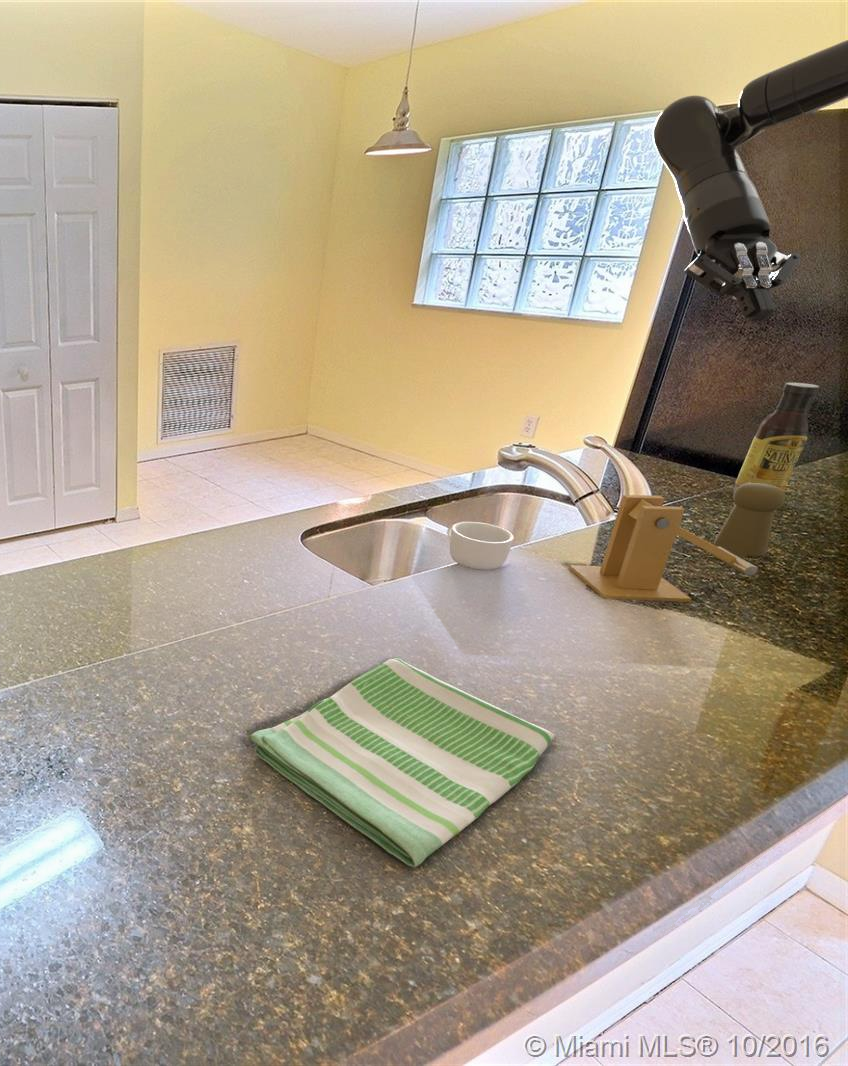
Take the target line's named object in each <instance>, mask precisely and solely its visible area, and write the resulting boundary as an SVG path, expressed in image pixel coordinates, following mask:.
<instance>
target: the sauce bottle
mask: <svg viewBox="0 0 848 1066" xmlns="http://www.w3.org/2000/svg"><path fill="white" fill-rule="evenodd" d="M819 390H820V386H819V385H816V384H811V383H805V382H786V383H785V384H784V386H783V388H782V394H781V398H780V399H779V402H778V404H777V405H776V409H775V410H774V411H773V412H772V413H770V414H768V415H767V416H766V417H765V418H764V419H763V420H762V421H761V422H760V424H759V426H758V429H757V431H756V434H755V435H754V437H753V439H752V442H751V444H750V446H749V449H748V451H747V454H746V456H745V458H744V461H743V463H742V466H741V468H740V470H739V472H738V476H737V478H736V479H735V480H736V481H735V482H734V483H735V486H734V488H733V490H732V492H733V494H734V492H735V490H736V489H737V488H738V487H739V486H741V485H742V484H746V483H762V484H768V485H772V486H776V487H778V488H780V489H782V490H783V491H784V492H785V489H786V488H787V485H788V483H789V481H790V478H791V476H792V474H793V472H794V470H795V467H796V464H797V462H798V460H799V458H800V455H801V453H802V451H803V449H804V447H805V444H806V442H807V440H808V437H809V435H808V433H809V432H808V431H809V430H808V429H809V428H808V427H809V426H808V425H809V424H808V423H809V421H808V417H809V416H808V414H809V411H810V408H811V405H812V402H813V400H814V398H815V397H816V396H817V395H818V392H819Z"/></svg>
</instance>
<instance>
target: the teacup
mask: <svg viewBox="0 0 848 1066" xmlns="http://www.w3.org/2000/svg"><path fill="white" fill-rule="evenodd" d="M446 534H447V537H448V539H449V540H450V541H449V554H450V557H451V558H452V560H453V561H454V562H455V563H457V564H459V565H460V566H463V567H466V568H470V569H475V570H480V571H481V570H483V571H491V570H496V569H499V568H500V567H502V566H503V565H504V564H505V562H506V561H507V559H508V556H509V554H510V551H511V549H512V546H513V543H514V535H513V534H512V532H510V531H509V530H507V529H506V528H503V527H501V526H498V525H494V524H491V523H485V522H477V521H461V522H457V523H455V524H451V525H450V526H449V527H447V531H446Z"/></svg>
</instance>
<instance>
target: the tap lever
mask: <svg viewBox="0 0 848 1066" xmlns="http://www.w3.org/2000/svg"><path fill="white" fill-rule="evenodd" d="M641 506H653V505H651V504H650V503H648V502H646V501H644V500H641V501H640V502H639V503H638V504H637V505H636V507H635V508H634V509H633V510H632V511H631V512H630V513H629V514H628V515H630V516H631V517H633V518H634V519H636V520H637V518H638V515H639V511H640V508H641ZM676 536H677V537H680V538H681V539H683V540H686V541H687V542H689V543H691V544H693V545H694V546H696V547H698V548H700V549H702V550H704V551H706V552H708V553H709V554H711V555H712V556H714V557H715V558H717V559H718V560H720V561H722V562H723V563H725V564H727V565H728V566H730V567H731V568H733V569H735V570H736V571H738V572H740V573H741V574H743V575H744V576H747V577H752V576H754V575H756V574H757V573H758V570H759V569H758V567H757V566H756V565H754V564H752V563H750V562H749V561H747V560H746V559H745V558H740V557H739V556H737V555H735V554H733V553H732V552H730V551H728V550H727V549H725V548H723V547H716V546H715V545H714V543H711V542H709V541H707V540H705V539H704V538H702V537H700V536H697V534H694V533H693V532H690V531H688V530H687V529H685V528H683V527H681V526H679V528H678V531H677V534H676Z"/></svg>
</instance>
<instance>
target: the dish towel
mask: <svg viewBox="0 0 848 1066" xmlns="http://www.w3.org/2000/svg"><path fill="white" fill-rule="evenodd" d="M554 738H555V734H554V733H553V732H551V731H549V730H547V729H546V728H543V727H541V726H539V725H536V724H535V723H532V722H529V721H527V720H525V719H524V718H523V719H522V718H520V717H519V716H516V715H514V714H512V713H510V712H508V711H505V710H504V709H502V708H500V707H497V706H496V705H493V704H491V703H489V702H487V701H485V700H483V699H481V698H479V697H476V696H475V695H472V694H470V693H469V692H466V691H464V690H462V689H461V688H458V687H456V686H454V685H452V684H449V683H447V682H446V681H443V680H441V679H439V678H437V677H436V676H433V675H431V674H429V672H426V671H424V670H421V669H419V668H417V667H415V666H413V665H411V664H410V663H407V662H405V661H404V660H402V659H400V658H398V657H394V658H388V659H386V661H384V662H382V663H380V664H379V665H376V666H375V667H373V668H371V669H369V670H368V671H366V672H364V673H363V674H361V675H360V676H358V677H357V678H355V679H353V680H352V681H350V682H349V683H347V684H346V685H345V686H343V687H341V689H339V690H338V691H336V692H334V694H332V695H331V696H330V697H327V698H324V699H321V700H319V701H318V702H316V703H315V704H313V705H311V707H309V708H308V709H307V710H306V711H304V712H303V713H301V714H300V715H298V716H296V717H293V718H290V719H289V720H286V721H284V722H282V723H280V724H277V725H275V726H273V727H268V728H264V729H260V730H256V731H254V732H253V733H252V734H249V739H250V740H251V741H252V742H253V743H255V744H256V745H258V746H255V747H254V753H255V754H256V755H257V757H258V758H259V759H261V760H262V761H263V762H265V763H267V764H268V765H269V766H270V767H271V768H273V769H274V770H275V771H276V772H278V773H279V774H280V775H281V776H283V777H284V778H286V779H288V781H290V782H291V783H293V784H294V785H296V786H297V787H298V788H300V789H301V790H302V791H304V792H305V793H306V794H307V795H309V796H310V797H312V798H313V799H315V800H316V801H318V803H320V804H322V805H323V806H324V807H326V808H327V809H328V810H330V811H331V812H332V813H333V814H335V815H336V816H337V817H339V818H340V819H341V820H343V821H345V822H346V823H347V824H348V825H350V826H351V827H353V828H354V829H355V830H357V831H358V832H360V833H361V834H363V835H364V836H365V837H367V838H369V839H370V840H372V841H373V842H374V843H375V844H377V845H378V846H379V847H381V848H382V849H383V850H384V851H386V852H387V853H388V854H390V855H393V857H395V858H397V859H398V860H400V861H401V862H402V863H404V864H405V865H407V866H409V867H412V868H417V867H418V866H419V865H421V864H423V862H424V861H425V860H426V859H427V858H428V857H429V856H430V855H432V854H434V852H435V851H437V850H438V849H440V848H441V847H442V846H443V845H445V844H446V843H448V842H449V840H451V839H452V838H454V837H455V836H456V835H458V834H460V833H461V832H462V831H463V830H464V829H465V828H467V827H468V826H469V825H470V824H472V823H473V822H474V821H475V820H476V819H478V818H479V817H480V816H481V815H482V814H483V813H484V811H486V810H487V808H488V807H489V806H491V805H493V804H494V803H496V801H498V800H500V798H502V797H503V796H504V795H505V794H506V793H507V792H509V791H510V790H511V789H513V788H514V787H515V786H516V785H517V784H518V783H519V782H520V781H521V780H522V779H523V778H524V777H525V776H526V775H527V774H529V773H530V772H531V771H532V770H533V768H534V767H535V765H536V763H537V762H538V761H539V759H540V757H541V756H542V754H543V753H544V752H545V750H546V749H548V747H549V745H550V744H551V742H552V741H553V739H554Z"/></svg>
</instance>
